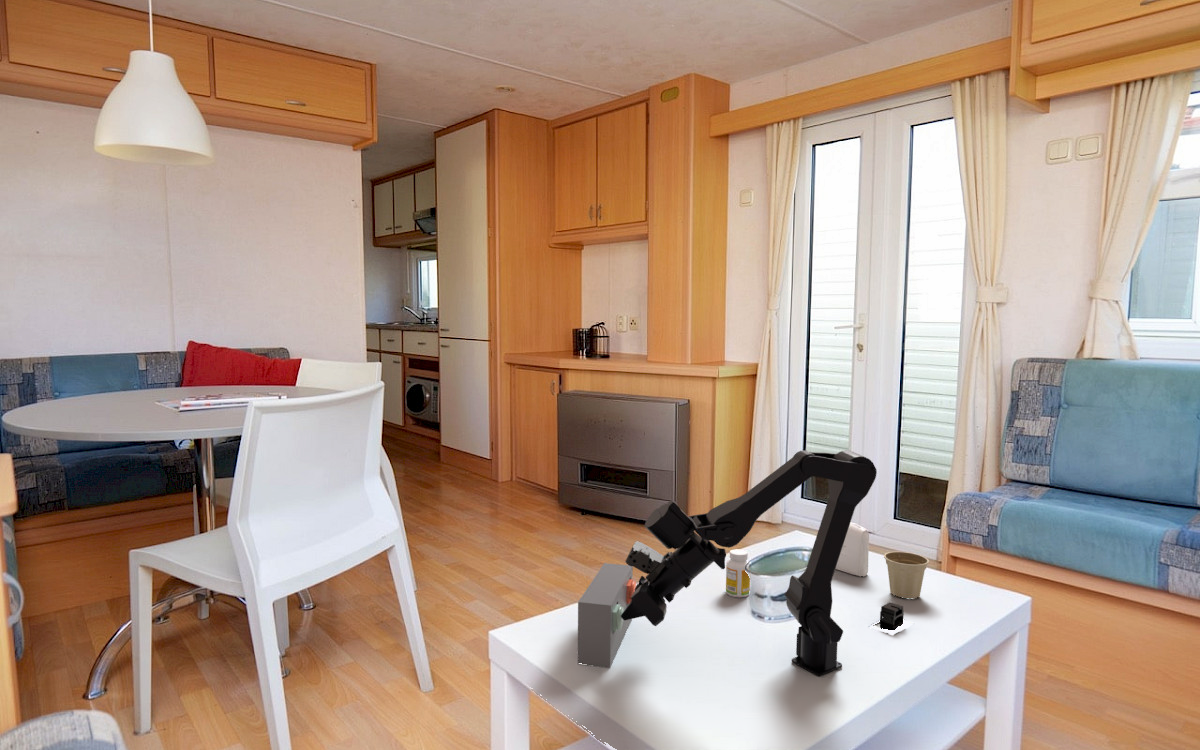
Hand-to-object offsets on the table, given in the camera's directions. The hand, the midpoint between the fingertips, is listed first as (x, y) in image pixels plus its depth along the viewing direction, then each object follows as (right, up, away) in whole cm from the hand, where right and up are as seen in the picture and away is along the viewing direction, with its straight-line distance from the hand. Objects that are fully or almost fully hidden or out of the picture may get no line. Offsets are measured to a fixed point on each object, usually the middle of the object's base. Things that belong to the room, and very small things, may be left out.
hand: (622, 617), depth 128 cm
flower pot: (+66, -6, +33) cm, 73 cm away
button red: (+1, -1, +13) cm, 14 cm away
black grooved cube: (+56, -8, +16) cm, 59 cm away
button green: (-2, -2, +1) cm, 3 cm away
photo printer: (+58, -5, +48) cm, 75 cm away
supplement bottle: (+27, -6, +32) cm, 43 cm away
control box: (-3, -7, +8) cm, 11 cm away
